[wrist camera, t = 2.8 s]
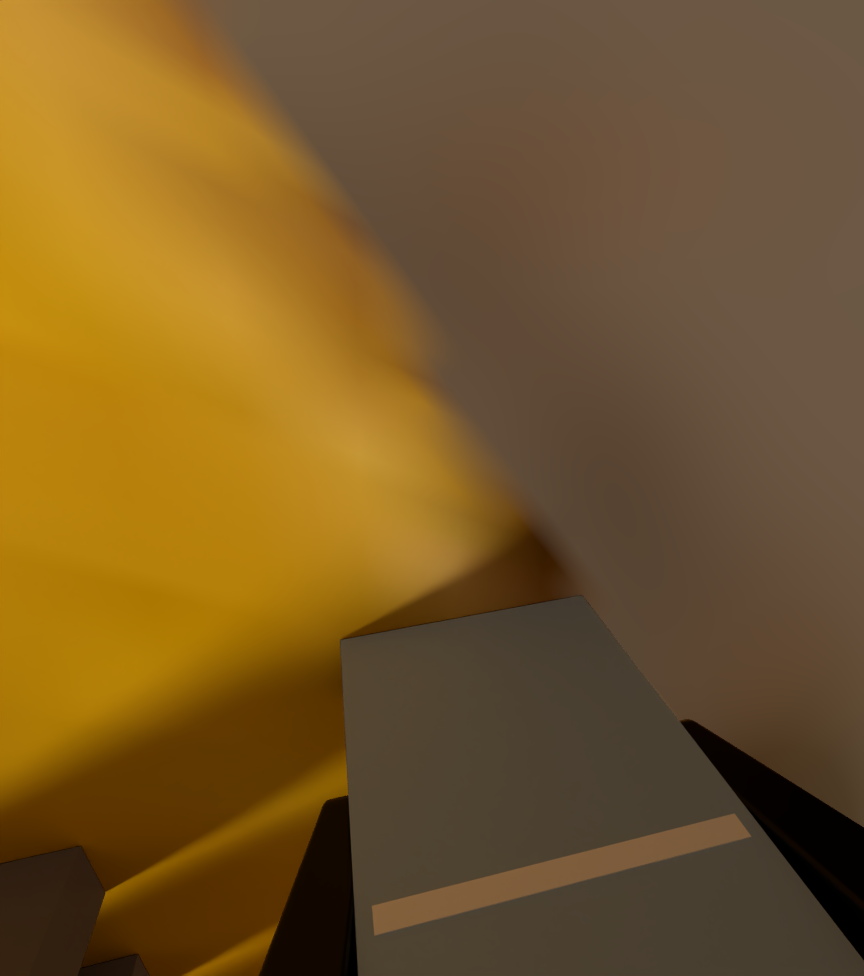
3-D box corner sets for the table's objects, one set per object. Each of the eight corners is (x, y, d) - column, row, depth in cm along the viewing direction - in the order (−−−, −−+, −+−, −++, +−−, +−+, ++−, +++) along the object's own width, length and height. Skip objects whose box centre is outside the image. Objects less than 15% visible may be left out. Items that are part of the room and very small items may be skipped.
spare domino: (580, 657, 12) (1380, 1894, 3) (351, 702, 11) (483, 2505, 2) (582, 594, 11) (1624, 1946, 2) (339, 639, 11) (459, 2830, 2)
